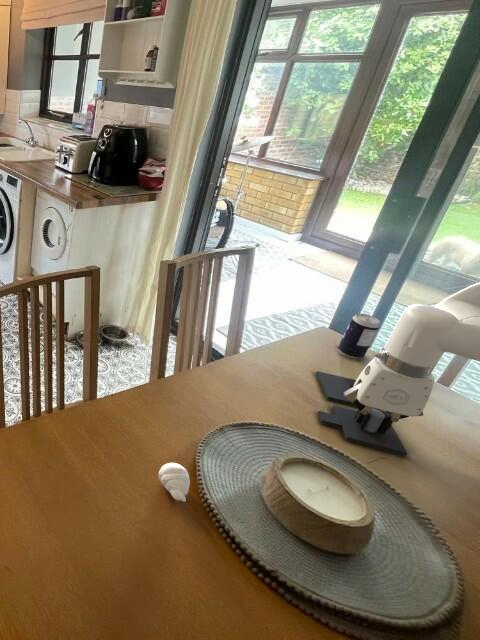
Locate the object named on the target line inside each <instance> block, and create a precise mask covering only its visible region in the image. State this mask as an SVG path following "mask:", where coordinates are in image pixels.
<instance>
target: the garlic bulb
mask: <svg viewBox="0 0 480 640" xmlns="http://www.w3.org/2000/svg"><path fill="white" fill-rule="evenodd" d="M158 480H159V482H160V483H161V485H162V486H163V487H164V488H165V490H166V491H167V492H168V493H170V495H171V497H172V498H173V499H174V500H176V501H179V502H180V501H181V502H182V503H186V501H187V498H186V496H187V495H188V494H189V490H190V485H191V479H190V474H189V471H188V470H187V469H186V468H185V467H184V466H182V465H181V464H180V463H177V462H167V463H165V464H163V465H162V466H161V467H160V469H159V471H158Z"/></svg>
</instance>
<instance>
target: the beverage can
mask: <svg viewBox="0 0 480 640" xmlns="http://www.w3.org/2000/svg"><path fill="white" fill-rule="evenodd" d="M380 323H381V322H380V319H378V318H377V317H375V316H373V315H370V314H366V313H356V314H355V315H354V316H352V317H351V319H350V321H349V322H348V325H347V328H346V330H345V332H344V334H343V335H342V337H341V340H340V341H339V343H338V346H337V348H338V350H339V352H340V353H341V354H342V355H344V356H345V357H348V358H350V359H361V358H364V357H365V356H366V353H367V352H368V349H370V346H371V344H372V342H373V340H374V339H375V337H376V335H377V333H378V331H379V329H380Z"/></svg>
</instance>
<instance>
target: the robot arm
mask: <svg viewBox="0 0 480 640" xmlns="http://www.w3.org/2000/svg"><path fill="white" fill-rule="evenodd" d="M444 353H449V354H450V353H451V354H453V355H456V356H460V357H462V358H466V359H469V360H473V361H477V362H480V281H479V282H477V283H474V284H472V285H468V286H467V287H465V288H463V289H461V290H459V291H457V292H455V293H453V294H451V295H449V296H448V297H445V298H443V299H442V300H441V301H439V302H438V303H437V304H436V305H435V306H433V305H427V304H412V305H409V306H407V307H406V308H405V309H404V310H403V311H402V313H401V315H400V317H399V319H398V320H397V322H396V324H395V326H394V328H393V330H392V332H391V334H390V336H389V338H388V339H387V341H386V343H385V344H384V346H383V347H382V348H381V349H380V350H373V351H372V355H371V356H372V357H373V358H372V359H371V360H370V361H369V362H368V364H367V365H366V366H365V367H364V368H363V369H362V371H361V372H360V374H359V375H358V377H357V378H356V379H355V380H356V382H355V384H354V386H353V387H352V388H350V389H349V390H347V391H345V392H344V393H343V394H344V396H345V398H346V399H348V400H349V401H351V402H353V403H354V404H355V405H356V406H357V407H356V408H357V410H355V411H356V413H355V415H354V421H355V422H356V423H357V425H358V427H359V428H360V429H364V427H365V426H366V424H367V422H368V420H369V419H370V415H369V412H370V411H371V410H372V408H377V409H381V410H382V411H381V410H380V411H381V412H382V413H384V415H385V418H384V420H383V421H382V423H381V425H380V426H379V428H378V432H379V433H380V434H383V435H384V434H385V432H386V431H387V430H389V428H390V427H391V425H392V426H393V423H398V422H399V420H403V419H407V418H409V417H412V418H413V417H423V416H424V409H425V408H426V406H427V404H428V402H429V399H430V397H431V394H432V390H433V389H434V383H435V376H434V375H433V374H432V373H433V371H434V369H435V368H436V366H437V365H438V363H439V361H441V360H440V359H441V358H442V356H443V355H444ZM356 396H357V397H356Z"/></svg>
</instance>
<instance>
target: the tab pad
mask: <svg viewBox="0 0 480 640" xmlns="http://www.w3.org/2000/svg"><path fill="white" fill-rule="evenodd" d="M331 409H332V412H333V413H330V412H326V411H322V410H318V411H317V417H318V419H319V421H320V423H321V424H322V425H325V426H330V427H334V428H337V429H340V430H341V432H342V435H343V437H344V439H345V441H348V442H352V443H355V444H358V445H362V446H367V447H370V448H374V449H377V450H381V451H385V452H389V453H392V454H396V455H398V456H399V455H400V456H404V457H406V456H407V455H408V451H407V449H406V448H405V445H404V444H403V443H402V441H401V439H400V437H399V436H398V434H397V432H396V431H395V429H394V427H393V424H392V425H391V427H390V428H389V430H387V431H386V432H385V434H384V435H383V434H380V433H379V432H378V428H379V426H380V425H381V423H382V421H383V420H384V418H385V415H384V413H382V411H381V410H380V411H379V410H377V409H374V408H372V410H371V411H370V412H369V415H370V419H369V420H368V422H367V424H366V426H365V427H364V429H360V428H359V427H358V425H357V423H356V422H355V421H354V415H355V413H356V411H357V410H355V409H351V408H347V407H342V406H339V405H333V406H332V407H331Z"/></svg>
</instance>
